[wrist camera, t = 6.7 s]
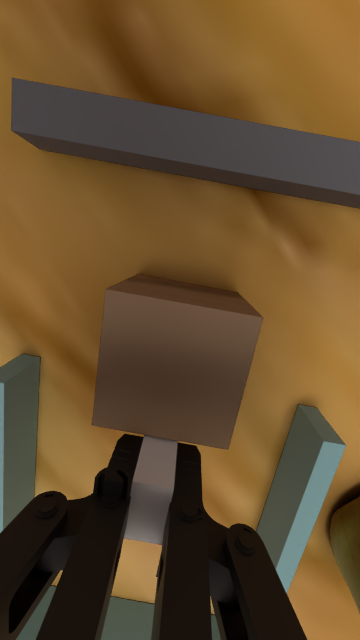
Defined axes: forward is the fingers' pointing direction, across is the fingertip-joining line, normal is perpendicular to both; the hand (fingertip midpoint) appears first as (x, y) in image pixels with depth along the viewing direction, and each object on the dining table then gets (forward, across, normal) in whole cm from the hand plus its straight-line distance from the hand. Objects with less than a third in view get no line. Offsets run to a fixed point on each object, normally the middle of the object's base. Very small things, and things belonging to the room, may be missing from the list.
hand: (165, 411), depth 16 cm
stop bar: (+2, 0, +14) cm, 14 cm away
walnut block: (+2, 0, +4) cm, 5 cm away
